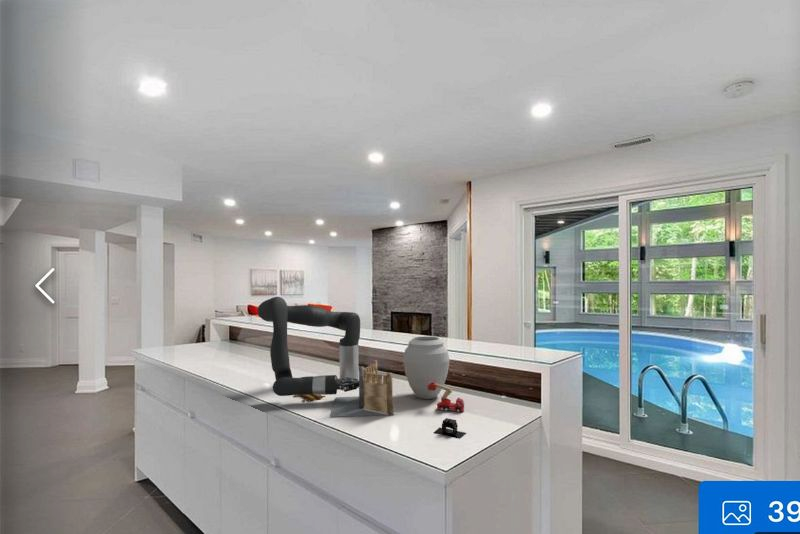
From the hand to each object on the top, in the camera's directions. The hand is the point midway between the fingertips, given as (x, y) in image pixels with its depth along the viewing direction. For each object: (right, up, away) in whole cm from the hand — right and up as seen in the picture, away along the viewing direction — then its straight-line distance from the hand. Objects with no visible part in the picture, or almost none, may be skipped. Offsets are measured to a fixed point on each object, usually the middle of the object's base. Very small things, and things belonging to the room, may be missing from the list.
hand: (368, 383), depth 161 cm
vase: (+24, -7, +5) cm, 26 cm away
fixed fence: (+4, -7, -13) cm, 15 cm away
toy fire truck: (+31, -7, -11) cm, 33 cm away
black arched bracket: (+29, -7, -34) cm, 45 cm away
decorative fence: (-29, -9, +11) cm, 32 cm away
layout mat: (-1, -7, -6) cm, 9 cm away
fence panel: (+1, -6, -1) cm, 6 cm away
